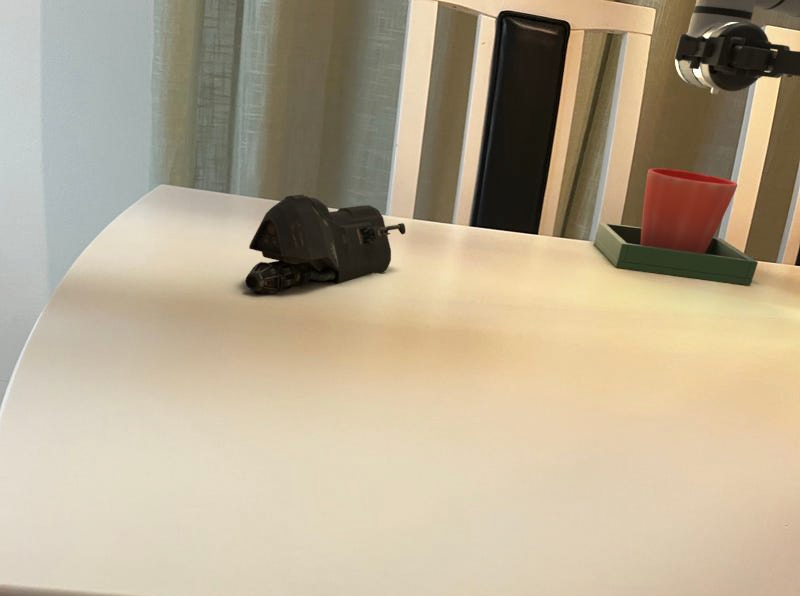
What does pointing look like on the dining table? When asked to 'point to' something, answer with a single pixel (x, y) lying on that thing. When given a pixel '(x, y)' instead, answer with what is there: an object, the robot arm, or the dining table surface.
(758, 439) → the dining table surface
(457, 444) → the dining table surface
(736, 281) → the plant tray
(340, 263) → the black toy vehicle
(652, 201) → the flower pot
